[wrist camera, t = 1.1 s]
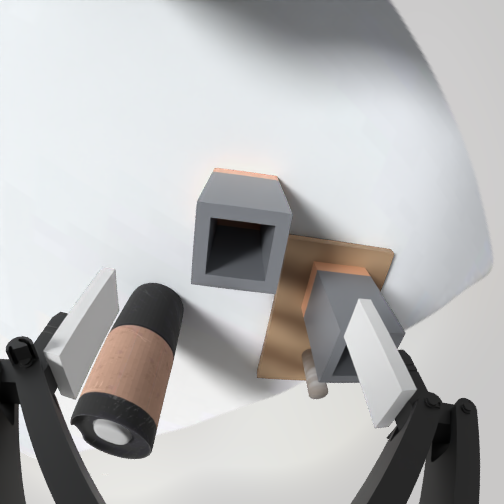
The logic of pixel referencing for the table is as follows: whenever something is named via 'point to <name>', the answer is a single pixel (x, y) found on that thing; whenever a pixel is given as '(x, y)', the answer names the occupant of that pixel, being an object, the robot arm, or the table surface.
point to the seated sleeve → (340, 317)
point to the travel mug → (131, 375)
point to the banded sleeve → (240, 232)
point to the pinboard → (291, 298)
